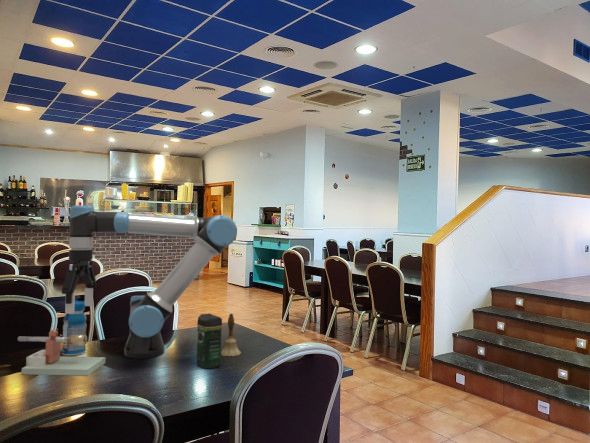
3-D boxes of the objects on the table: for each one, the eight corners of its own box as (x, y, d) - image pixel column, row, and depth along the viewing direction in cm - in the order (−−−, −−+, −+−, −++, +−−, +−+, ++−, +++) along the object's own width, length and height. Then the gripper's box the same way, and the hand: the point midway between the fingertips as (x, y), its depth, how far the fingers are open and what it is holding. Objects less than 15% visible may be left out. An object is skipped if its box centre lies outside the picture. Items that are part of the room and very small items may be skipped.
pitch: (105, 362, 159) (105, 349, 159) (87, 375, 145) (87, 360, 145) (45, 361, 158) (45, 347, 158) (21, 374, 144) (21, 359, 144)
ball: (44, 347, 153) (38, 357, 153) (37, 350, 149) (32, 360, 149) (54, 352, 153) (48, 362, 153) (47, 355, 149) (42, 365, 149)
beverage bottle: (75, 357, 164) (77, 304, 165) (56, 355, 166) (58, 303, 166) (90, 351, 173) (92, 301, 173) (72, 349, 174) (73, 300, 175)
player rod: (87, 359, 154) (88, 328, 154) (80, 363, 149) (81, 332, 149) (22, 358, 154) (23, 327, 154) (13, 362, 149) (14, 330, 149)
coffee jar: (224, 366, 157) (225, 315, 158) (204, 370, 153) (205, 317, 153) (212, 359, 165) (213, 311, 166) (193, 363, 160) (194, 313, 161)
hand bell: (216, 355, 172) (217, 314, 172) (227, 349, 179) (228, 311, 180) (234, 357, 169) (235, 316, 169) (244, 352, 176) (245, 313, 177)
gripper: (87, 247, 165) (85, 303, 164) (50, 250, 140) (49, 316, 139) (106, 247, 165) (105, 303, 164) (74, 251, 140) (72, 316, 140)
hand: (79, 309), depth 152 cm, fingers open, 13 cm apart
